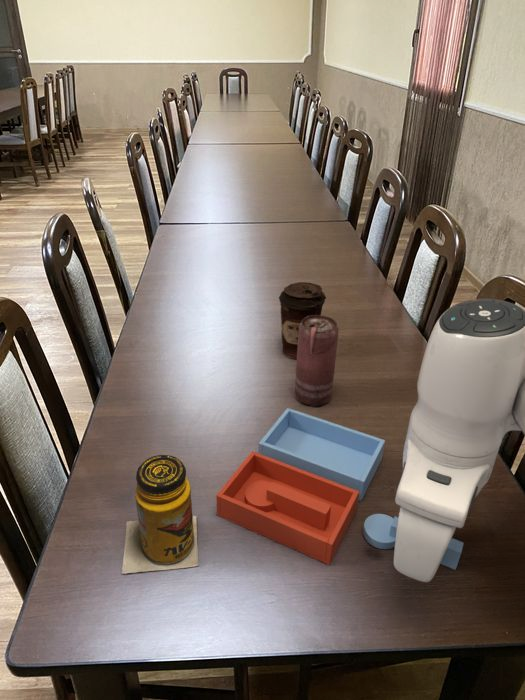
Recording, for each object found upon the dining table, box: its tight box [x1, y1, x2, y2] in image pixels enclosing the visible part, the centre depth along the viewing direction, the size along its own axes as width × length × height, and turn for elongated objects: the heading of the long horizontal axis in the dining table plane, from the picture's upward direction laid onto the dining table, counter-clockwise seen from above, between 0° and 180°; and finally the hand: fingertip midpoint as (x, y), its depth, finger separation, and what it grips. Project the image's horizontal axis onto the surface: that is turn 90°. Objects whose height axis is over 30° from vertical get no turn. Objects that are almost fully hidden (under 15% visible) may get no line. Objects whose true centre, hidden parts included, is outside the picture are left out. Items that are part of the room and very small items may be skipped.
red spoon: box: [245, 481, 331, 531], centre depth 67 cm, size 11×4×3 cm, turn 62°
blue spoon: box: [362, 513, 464, 571], centre depth 63 cm, size 11×4×3 cm, turn 62°
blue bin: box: [258, 407, 386, 502], centre depth 75 cm, size 15×9×4 cm, turn 62°
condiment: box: [121, 454, 199, 575], centre depth 60 cm, size 7×8×12 cm
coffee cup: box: [278, 281, 327, 360], centre depth 98 cm, size 9×8×13 cm
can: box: [294, 314, 340, 407], centre depth 86 cm, size 6×6×14 cm
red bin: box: [215, 450, 359, 566], centre depth 67 cm, size 15×9×4 cm, turn 62°
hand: (425, 540), depth 62 cm, fingers closed on blue spoon
